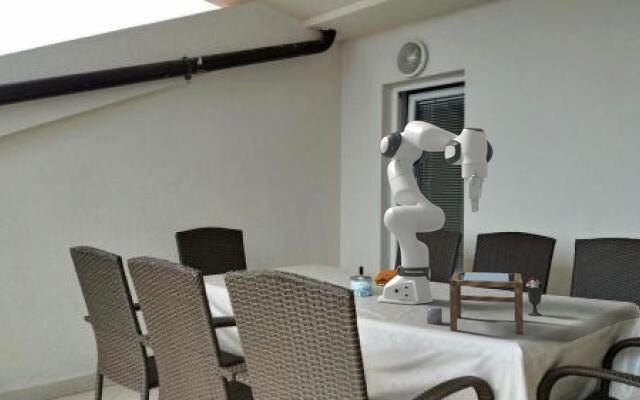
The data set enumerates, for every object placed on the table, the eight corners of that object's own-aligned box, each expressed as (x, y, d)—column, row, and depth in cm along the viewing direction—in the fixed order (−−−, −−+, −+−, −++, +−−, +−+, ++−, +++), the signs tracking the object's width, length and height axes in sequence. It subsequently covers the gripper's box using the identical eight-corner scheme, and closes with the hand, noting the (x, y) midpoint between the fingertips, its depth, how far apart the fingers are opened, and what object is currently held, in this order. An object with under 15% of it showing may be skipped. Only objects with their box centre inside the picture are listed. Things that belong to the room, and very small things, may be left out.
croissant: (383, 285, 299) (381, 269, 300) (410, 283, 290) (408, 267, 291) (368, 288, 287) (366, 272, 288) (396, 286, 278) (394, 269, 279)
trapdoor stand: (450, 330, 189) (449, 279, 189) (455, 316, 210) (454, 270, 210) (523, 334, 183) (522, 281, 183) (520, 319, 204) (520, 271, 204)
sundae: (521, 313, 215) (521, 271, 215) (539, 312, 216) (539, 271, 215) (529, 316, 208) (529, 274, 208) (548, 316, 209) (547, 273, 209)
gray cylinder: (426, 324, 199) (426, 309, 199) (428, 321, 204) (427, 306, 204) (441, 324, 198) (441, 309, 198) (442, 321, 203) (442, 307, 203)
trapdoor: (463, 287, 191) (463, 279, 191) (466, 277, 208) (466, 270, 208) (508, 289, 187) (508, 281, 187) (508, 278, 204) (508, 271, 203)
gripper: (482, 171, 200) (483, 212, 200) (484, 173, 219) (484, 210, 219) (463, 172, 202) (464, 212, 202) (467, 174, 221) (467, 211, 221)
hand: (475, 211), depth 211 cm, fingers open, 8 cm apart
